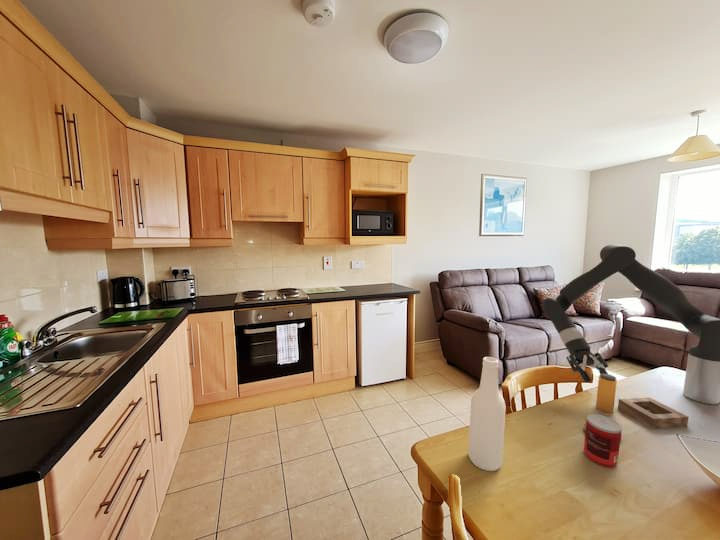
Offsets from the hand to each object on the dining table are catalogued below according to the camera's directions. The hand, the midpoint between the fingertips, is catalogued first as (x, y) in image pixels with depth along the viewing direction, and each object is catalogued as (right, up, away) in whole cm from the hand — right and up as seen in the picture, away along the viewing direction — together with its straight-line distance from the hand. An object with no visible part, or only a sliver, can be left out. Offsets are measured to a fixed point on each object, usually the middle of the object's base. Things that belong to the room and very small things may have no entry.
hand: (598, 380), depth 110 cm
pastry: (-13, -11, -15) cm, 23 cm away
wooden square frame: (+13, -10, -7) cm, 18 cm away
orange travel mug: (0, -10, -2) cm, 10 cm away
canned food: (-21, -12, -26) cm, 36 cm away
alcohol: (-55, -12, -28) cm, 63 cm away
